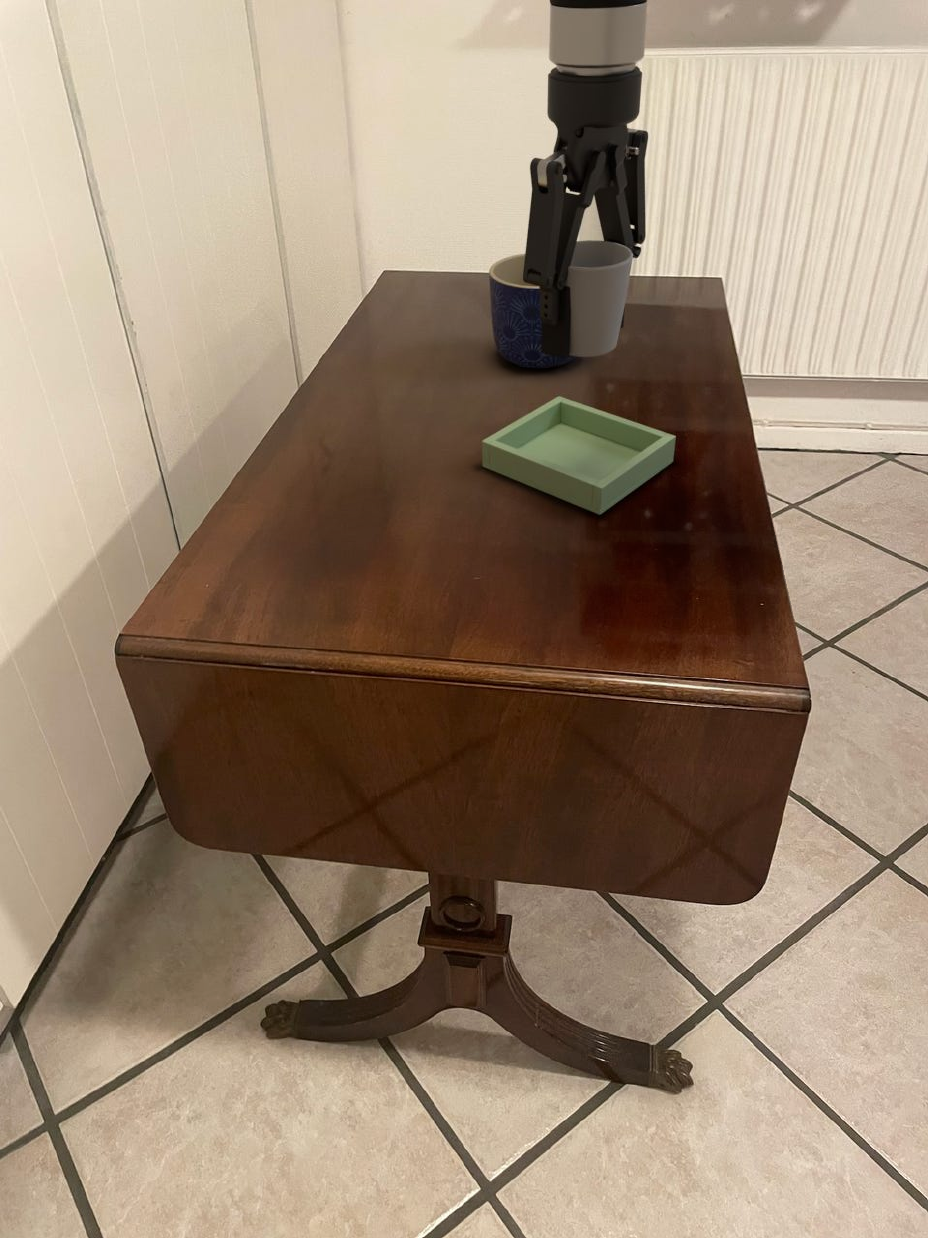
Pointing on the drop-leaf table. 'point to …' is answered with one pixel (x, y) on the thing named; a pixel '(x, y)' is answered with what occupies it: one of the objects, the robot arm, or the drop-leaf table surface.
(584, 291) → the cup
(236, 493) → the drop-leaf table surface
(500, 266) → the planter
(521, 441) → the tray
